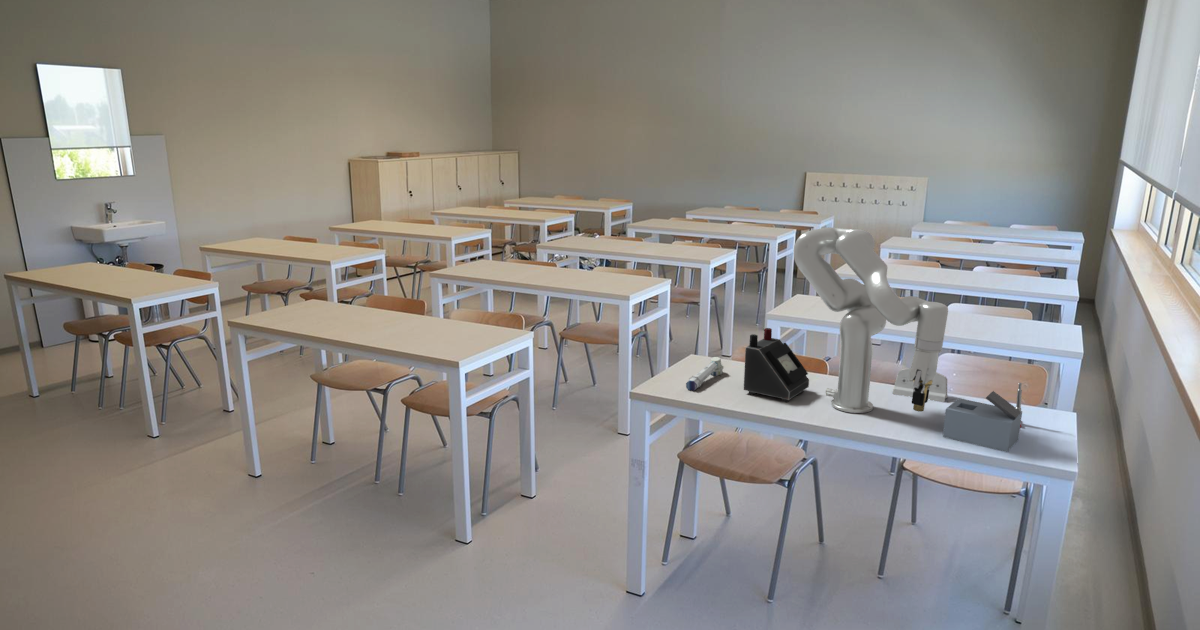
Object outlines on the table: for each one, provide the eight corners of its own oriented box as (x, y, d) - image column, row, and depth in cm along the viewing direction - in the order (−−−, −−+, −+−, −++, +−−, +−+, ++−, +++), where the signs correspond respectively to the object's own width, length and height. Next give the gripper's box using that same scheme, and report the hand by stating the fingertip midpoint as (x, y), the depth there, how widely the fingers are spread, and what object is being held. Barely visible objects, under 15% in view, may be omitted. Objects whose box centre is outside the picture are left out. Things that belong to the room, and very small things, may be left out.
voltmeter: (789, 404, 248) (793, 344, 244) (743, 394, 258) (746, 336, 253) (809, 391, 261) (812, 333, 256) (764, 382, 270) (767, 326, 266)
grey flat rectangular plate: (985, 398, 215) (987, 396, 214) (991, 392, 219) (993, 390, 219) (1014, 420, 211) (1016, 418, 211) (1019, 414, 215) (1021, 412, 215)
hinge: (891, 393, 258) (895, 364, 259) (893, 394, 262) (898, 365, 263) (945, 402, 250) (950, 372, 250) (946, 403, 254) (951, 373, 254)
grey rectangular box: (942, 436, 221) (945, 408, 220) (955, 425, 230) (958, 398, 228) (1007, 452, 211) (1011, 423, 209) (1018, 439, 220) (1022, 411, 218)
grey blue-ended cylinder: (683, 379, 261) (712, 352, 281) (684, 396, 264) (712, 368, 284) (698, 381, 259) (725, 354, 279) (698, 399, 261) (726, 370, 281)
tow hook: (987, 426, 231) (1022, 429, 227) (989, 385, 228) (1025, 387, 225) (984, 417, 238) (1018, 419, 235) (987, 377, 236) (1021, 379, 232)
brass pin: (906, 409, 231) (911, 379, 228) (912, 404, 234) (917, 375, 232) (924, 414, 227) (929, 384, 225) (930, 409, 231) (935, 379, 229)
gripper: (925, 336, 234) (916, 393, 239) (905, 347, 222) (896, 406, 227) (950, 341, 229) (941, 399, 234) (932, 353, 217) (922, 414, 222)
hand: (919, 402), depth 230 cm, fingers closed on brass pin, 3 cm apart
